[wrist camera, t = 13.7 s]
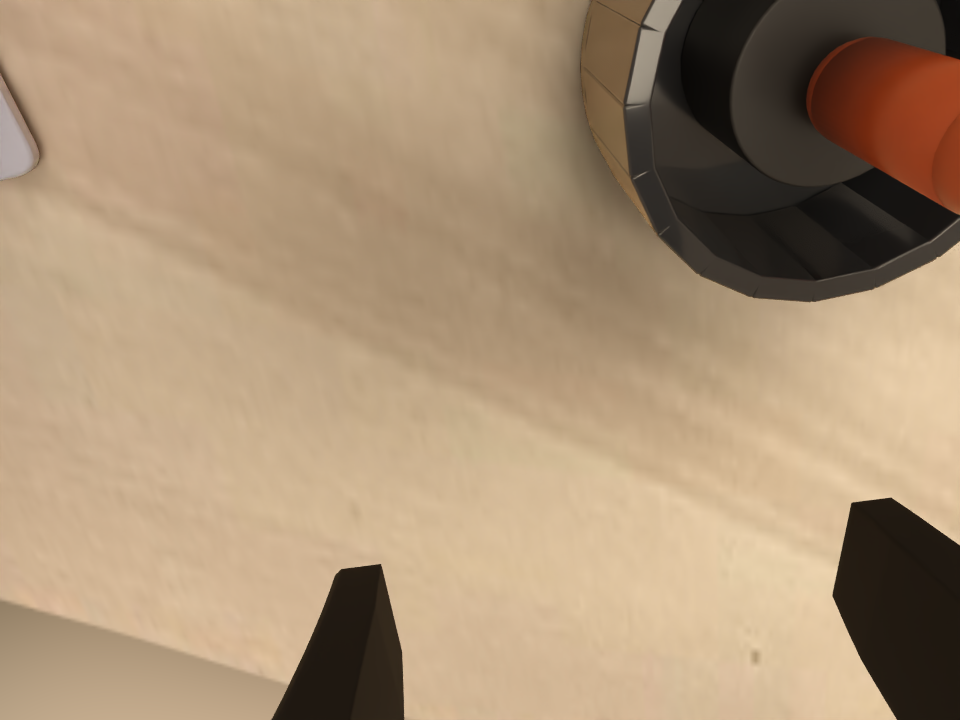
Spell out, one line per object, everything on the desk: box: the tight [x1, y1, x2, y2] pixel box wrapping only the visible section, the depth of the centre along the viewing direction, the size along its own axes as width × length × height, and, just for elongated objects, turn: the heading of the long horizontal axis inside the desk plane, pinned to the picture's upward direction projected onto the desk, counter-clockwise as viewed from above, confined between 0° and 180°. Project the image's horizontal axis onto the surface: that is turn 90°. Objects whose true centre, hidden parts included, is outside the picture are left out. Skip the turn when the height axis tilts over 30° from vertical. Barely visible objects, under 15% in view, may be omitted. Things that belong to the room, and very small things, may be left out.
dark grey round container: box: [580, 0, 960, 302], centre depth 15 cm, size 8×8×4 cm
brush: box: [681, 0, 960, 215], centre depth 13 cm, size 4×4×8 cm
